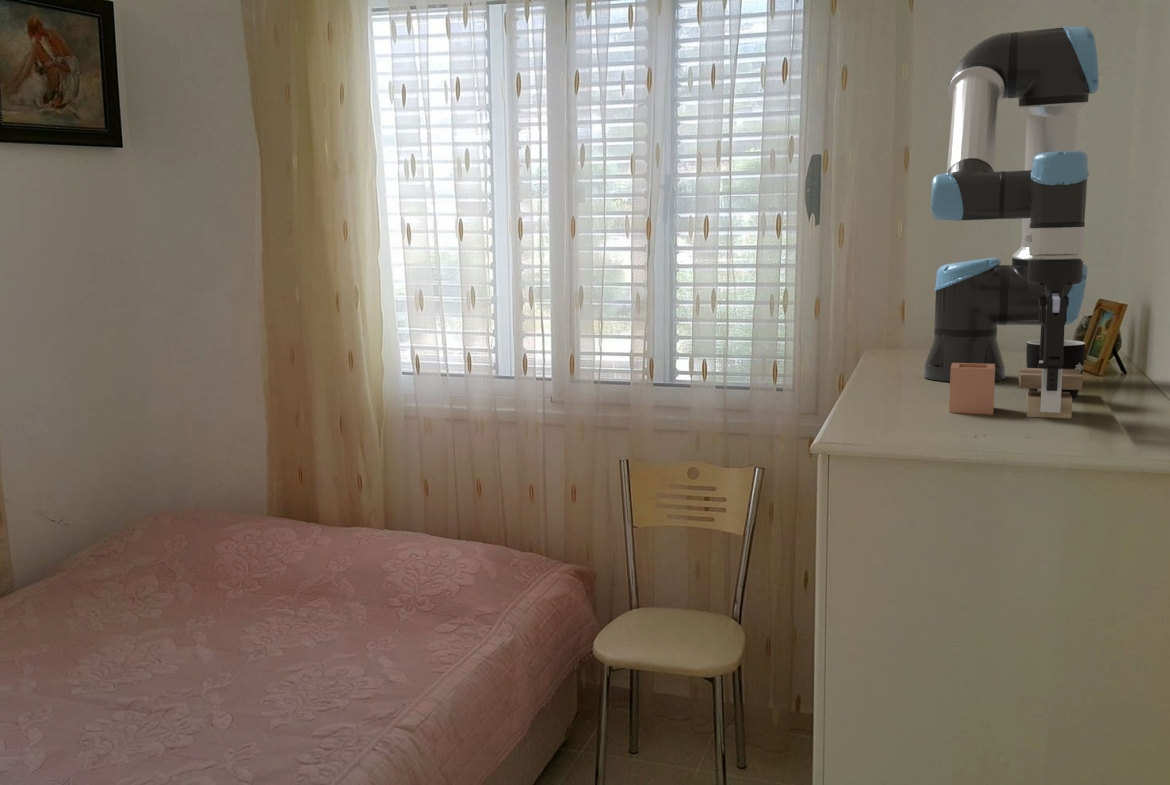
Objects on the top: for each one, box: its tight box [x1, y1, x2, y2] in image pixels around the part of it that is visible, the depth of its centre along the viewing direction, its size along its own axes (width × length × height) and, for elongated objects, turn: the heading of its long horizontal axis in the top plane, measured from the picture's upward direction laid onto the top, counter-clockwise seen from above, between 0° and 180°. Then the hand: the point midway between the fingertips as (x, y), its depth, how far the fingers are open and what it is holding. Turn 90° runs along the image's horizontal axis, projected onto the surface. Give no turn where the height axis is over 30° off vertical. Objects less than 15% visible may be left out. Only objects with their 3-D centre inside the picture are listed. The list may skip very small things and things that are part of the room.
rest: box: [1025, 390, 1073, 419], centre depth 155 cm, size 6×6×4 cm
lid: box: [1018, 367, 1084, 391], centre depth 154 cm, size 8×8×2 cm
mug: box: [1025, 339, 1086, 400], centre depth 172 cm, size 12×9×10 cm
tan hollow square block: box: [948, 363, 996, 415], centre depth 160 cm, size 6×6×8 cm
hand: (1048, 406), depth 155 cm, fingers closed on lid, 8 cm apart
